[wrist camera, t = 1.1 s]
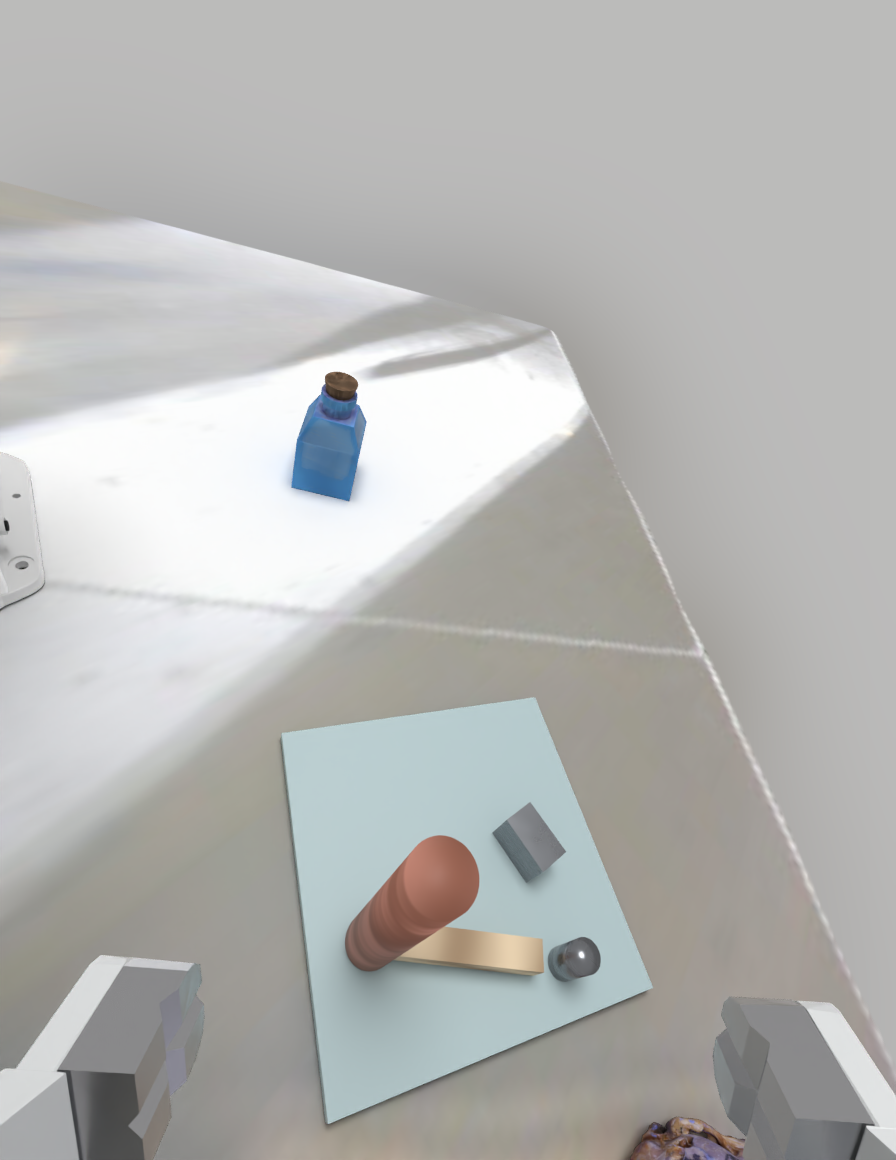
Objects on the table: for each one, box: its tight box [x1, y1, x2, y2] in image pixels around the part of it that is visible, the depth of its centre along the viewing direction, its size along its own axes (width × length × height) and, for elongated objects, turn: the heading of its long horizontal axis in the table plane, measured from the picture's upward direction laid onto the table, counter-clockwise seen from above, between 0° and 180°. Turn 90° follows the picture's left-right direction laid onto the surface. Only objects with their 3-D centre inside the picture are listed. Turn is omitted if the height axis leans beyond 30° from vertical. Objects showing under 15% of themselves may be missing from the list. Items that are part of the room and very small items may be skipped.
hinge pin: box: [548, 937, 601, 982], centre depth 37 cm, size 2×2×4 cm
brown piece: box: [345, 835, 544, 976], centre depth 30 cm, size 12×3×16 cm, turn 86°
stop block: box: [492, 802, 566, 883], centre depth 41 cm, size 4×2×3 cm, turn 36°
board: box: [281, 697, 653, 1124], centre depth 40 cm, size 22×22×1 cm
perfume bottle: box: [292, 372, 366, 501], centre depth 59 cm, size 6×6×12 cm
